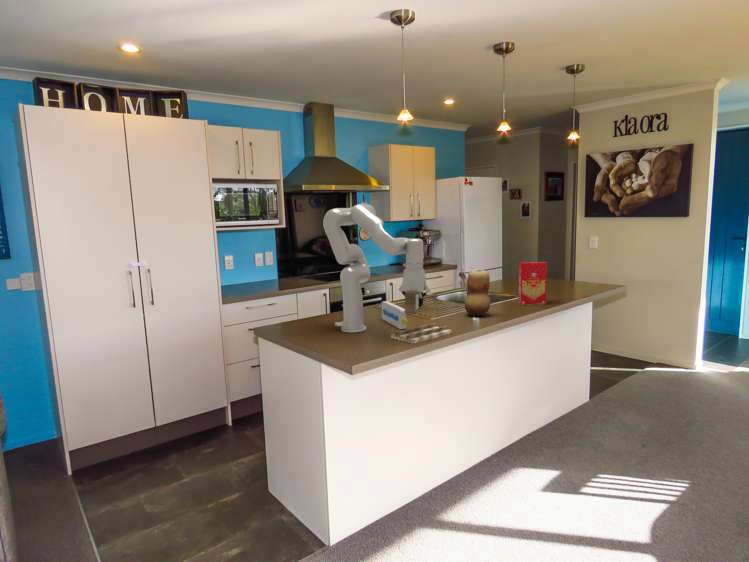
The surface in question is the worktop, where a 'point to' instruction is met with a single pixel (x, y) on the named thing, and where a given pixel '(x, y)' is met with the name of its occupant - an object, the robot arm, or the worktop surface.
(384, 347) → the worktop surface
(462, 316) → the worktop surface
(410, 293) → the brown rectangular block
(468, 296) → the tan lobed piece
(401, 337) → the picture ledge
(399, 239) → the robot arm
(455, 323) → the worktop surface
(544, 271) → the food packaging
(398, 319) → the white and blue box
